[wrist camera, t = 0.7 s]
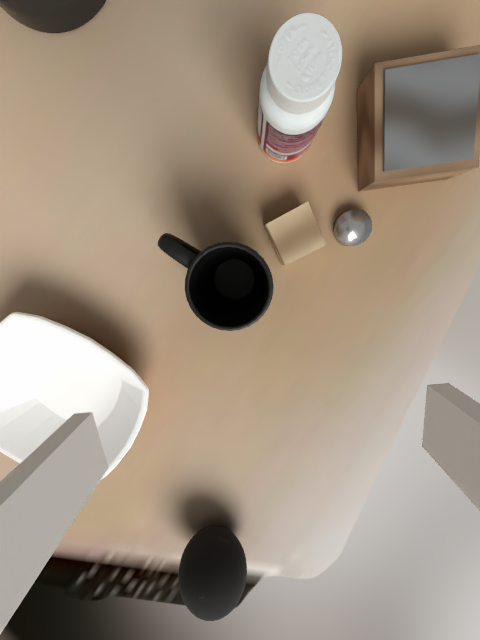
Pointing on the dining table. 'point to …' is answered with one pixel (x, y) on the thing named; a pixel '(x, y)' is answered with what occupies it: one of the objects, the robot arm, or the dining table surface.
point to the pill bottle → (297, 85)
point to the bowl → (63, 387)
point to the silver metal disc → (352, 227)
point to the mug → (223, 282)
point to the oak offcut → (295, 234)
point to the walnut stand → (419, 119)
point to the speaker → (212, 573)
